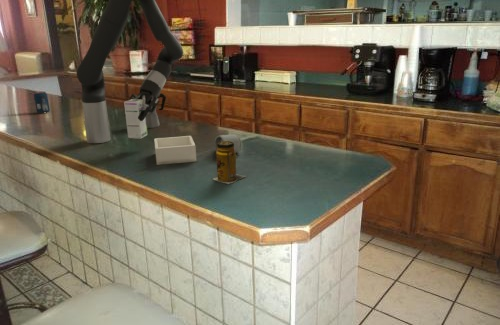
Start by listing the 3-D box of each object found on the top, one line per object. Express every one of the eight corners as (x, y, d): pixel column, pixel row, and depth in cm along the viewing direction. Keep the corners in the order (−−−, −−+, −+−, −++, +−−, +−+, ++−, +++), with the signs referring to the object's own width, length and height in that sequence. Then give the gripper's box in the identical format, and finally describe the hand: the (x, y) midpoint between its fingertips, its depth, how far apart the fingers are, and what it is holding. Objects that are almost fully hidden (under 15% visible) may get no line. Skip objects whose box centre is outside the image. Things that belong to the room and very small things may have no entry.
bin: (156, 164, 140) (155, 148, 138) (155, 153, 153) (154, 138, 151) (196, 161, 143) (195, 145, 141) (191, 150, 156) (191, 135, 154)
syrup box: (141, 138, 153) (138, 101, 148) (127, 138, 154) (123, 101, 149) (148, 135, 158) (144, 99, 154) (134, 134, 159) (130, 98, 155)
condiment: (211, 179, 126) (210, 143, 122) (229, 172, 132) (228, 137, 128) (228, 184, 121) (227, 147, 118) (246, 177, 128) (245, 141, 124)
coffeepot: (138, 129, 190) (134, 91, 184) (135, 125, 198) (131, 89, 192) (170, 126, 196) (167, 89, 190) (166, 122, 204) (163, 87, 198)
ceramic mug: (243, 153, 151) (242, 134, 149) (225, 158, 147) (224, 137, 144) (227, 148, 159) (227, 129, 157) (210, 151, 155) (209, 132, 152)
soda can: (42, 111, 235) (38, 91, 231) (52, 111, 234) (49, 91, 230) (34, 113, 228) (30, 93, 225) (45, 114, 228) (41, 93, 224)
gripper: (135, 77, 159) (114, 110, 153) (160, 79, 151) (139, 115, 146) (146, 89, 165) (126, 121, 159) (171, 92, 157) (151, 126, 152)
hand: (133, 118), depth 153 cm, fingers closed on syrup box, 7 cm apart
